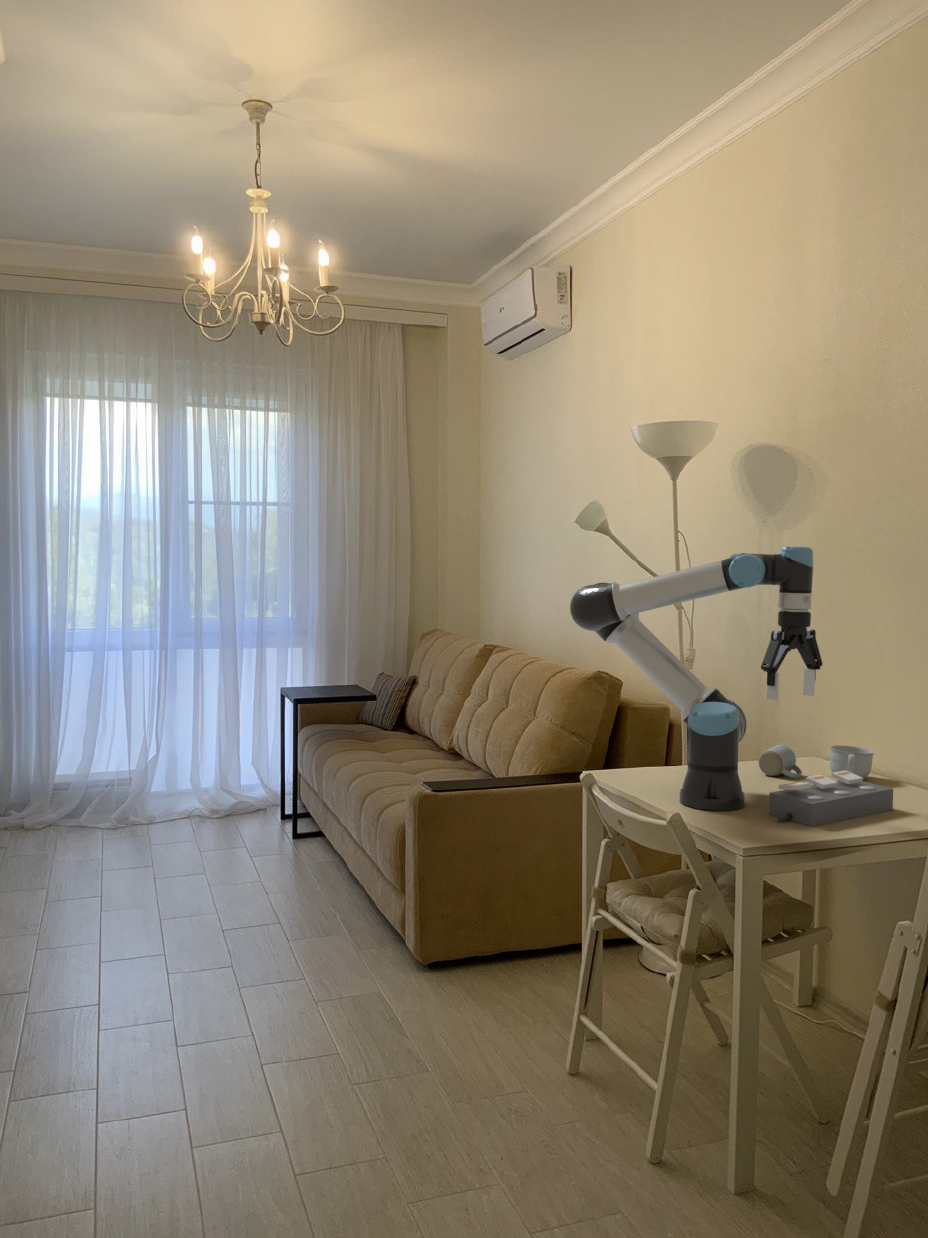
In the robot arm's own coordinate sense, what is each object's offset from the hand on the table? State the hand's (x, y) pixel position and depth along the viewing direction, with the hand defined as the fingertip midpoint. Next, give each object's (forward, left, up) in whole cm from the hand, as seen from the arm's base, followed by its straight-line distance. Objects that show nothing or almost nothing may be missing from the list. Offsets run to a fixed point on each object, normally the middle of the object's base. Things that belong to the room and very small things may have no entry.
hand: (790, 697), depth 249 cm
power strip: (-5, -15, -24) cm, 29 cm away
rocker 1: (-12, -12, -18) cm, 25 cm away
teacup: (+29, +5, -25) cm, 39 cm away
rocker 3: (+6, -12, -18) cm, 23 cm away
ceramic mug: (+17, +18, -25) cm, 35 cm away
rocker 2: (-3, -12, -18) cm, 22 cm away
